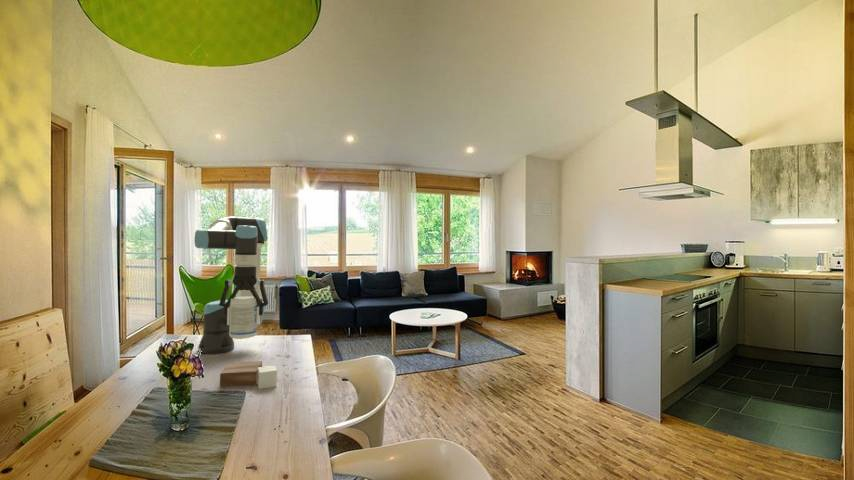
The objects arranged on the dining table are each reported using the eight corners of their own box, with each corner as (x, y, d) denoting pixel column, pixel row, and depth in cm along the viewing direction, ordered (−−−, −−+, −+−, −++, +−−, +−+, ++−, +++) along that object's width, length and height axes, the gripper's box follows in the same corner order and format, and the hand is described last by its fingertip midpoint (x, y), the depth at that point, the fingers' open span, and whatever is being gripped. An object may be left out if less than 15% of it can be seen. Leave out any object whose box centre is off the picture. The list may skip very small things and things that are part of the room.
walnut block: (229, 375, 147) (229, 362, 147) (261, 373, 150) (262, 361, 150) (219, 387, 135) (220, 373, 135) (255, 385, 138) (255, 371, 138)
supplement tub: (260, 336, 142) (261, 298, 142) (233, 341, 136) (235, 300, 136) (251, 331, 149) (252, 295, 149) (225, 335, 143) (227, 297, 143)
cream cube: (257, 383, 140) (258, 367, 140) (274, 380, 143) (275, 365, 143) (258, 389, 135) (259, 372, 135) (276, 386, 138) (276, 370, 138)
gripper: (210, 266, 136) (208, 327, 136) (274, 267, 141) (272, 325, 141) (216, 264, 143) (214, 322, 143) (277, 265, 149) (276, 321, 149)
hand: (243, 324), depth 142 cm, fingers closed on supplement tub, 9 cm apart
